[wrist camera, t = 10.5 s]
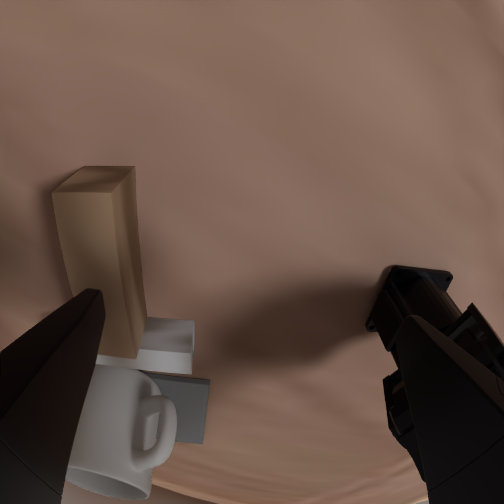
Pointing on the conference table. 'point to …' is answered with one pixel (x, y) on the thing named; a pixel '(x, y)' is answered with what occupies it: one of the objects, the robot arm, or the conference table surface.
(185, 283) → the conference table surface
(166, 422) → the mug
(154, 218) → the conference table surface
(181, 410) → the mat
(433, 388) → the robot arm
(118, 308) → the panel
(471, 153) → the conference table surface
